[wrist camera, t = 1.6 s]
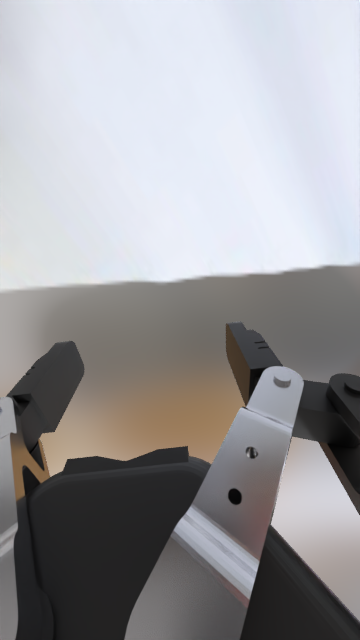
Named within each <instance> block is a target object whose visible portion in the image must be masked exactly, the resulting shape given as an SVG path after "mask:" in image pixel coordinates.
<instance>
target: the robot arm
mask: <svg viewBox="0 0 360 640" xmlns="http://www.w3.org/2000/svg"><path fill="white" fill-rule="evenodd" d="M226 352H227V358H228V361H229V364H230V366H231V369H232V371H233V374H234V377H235V379H236V382H237V385H238V387H239V390H240V393H241V395H242V398H243V400H244V403H245V406H246V408H245V407H241V409H240V410H239V411H238V413H237V415H236V417H235V419H234V421H233V423H232V425H231V427H230V430H229V431H228V433H227V435H226V437H225V439H224V441H223V443H222V445H221V447H220V449H219V451H218V453H217V455H216V457H215V459H214V461H213V463H212V464H210V463H208V462H206V461H204V460H202V459H199V458H196V457H191V456H189V453H188V446H185V447H176V448H168V449H158V450H155V451H153V452H150V453H148V454H145V455H142V456H139V457H137V458H134V459H131V460H128V461H120V460H114V459H109V458H104V457H98V456H94V457H85V458H75V459H67V462H66V464H65V467H64V470H63V471H62V472H60V473H58V474H56V475H54V476H52V477H50V474H49V470H48V466H47V461H46V457H45V453H44V449H43V445H42V442H41V440H40V439H39V438H40V436H41V434H42V433H49V432H55V430H56V428H57V426H58V424H59V422H60V420H61V418H62V416H63V414H64V412H65V410H66V408H67V406H68V404H69V402H70V400H71V398H72V397H73V395H74V393H75V391H76V389H77V387H78V385H79V383H80V381H81V379H82V377H83V375H84V364H83V362H82V359H81V357H80V354H79V352H78V350H77V347H76V345H75V343H74V342H73V341H66V342H58V343H55V345H54V346H53V347H52V348H51V349H50V350H49V352H48V353H46V354H45V355H44V356H42V357H41V358H40V359H38V360H37V361H36V362H35V363H34V365H33V366H32V367H31V369H29V370H28V371H27V373H26V375H24V376H23V377H22V378H21V380H20V381H19V382H18V383H17V384H16V385H15V387H14V388H13V389H12V390H11V391H10V393H9V394H8V395H7V396H6V397H1V398H0V640H360V621H359V620H358V619H357V618H356V617H355V616H354V615H353V614H352V613H351V612H350V610H349V609H347V607H346V606H345V605H344V604H343V603H342V602H341V601H340V600H339V598H338V597H337V596H336V595H335V594H334V593H333V592H332V591H331V590H330V589H329V588H328V587H327V586H326V584H325V583H324V582H323V581H322V580H321V579H320V578H319V577H318V576H317V575H316V574H315V573H314V571H313V570H312V569H311V568H310V567H309V566H308V565H307V564H306V563H305V561H304V560H303V559H302V558H301V557H300V556H299V555H298V554H297V553H296V552H295V551H294V549H293V548H292V547H291V546H290V545H289V544H288V543H287V542H286V541H285V540H284V539H283V537H282V536H281V535H280V534H279V533H278V532H277V531H276V530H275V529H274V528H273V527H272V526H271V521H272V517H273V513H274V509H275V504H276V500H277V496H278V492H279V488H280V484H281V479H282V475H283V471H284V467H285V463H286V459H287V455H288V451H289V446H290V442H291V438H292V436H293V437H298V438H303V439H308V440H313V441H318V442H319V444H320V446H321V448H322V449H323V451H324V453H325V455H326V456H327V458H328V460H329V462H330V464H331V465H332V467H333V469H334V471H335V473H336V474H337V476H338V478H339V480H340V481H341V483H342V485H343V486H344V488H345V490H346V492H347V493H348V495H349V497H350V499H351V501H352V503H353V504H354V506H355V508H356V510H357V512H358V513H359V515H360V377H359V376H356V375H351V374H336V375H334V376H332V377H331V378H330V381H329V383H321V382H313V381H306V380H303V379H302V378H301V376H300V375H299V374H298V373H296V372H295V371H293V370H291V369H289V368H286V367H283V365H282V364H281V363H280V361H279V360H278V359H277V357H276V356H275V354H274V353H273V351H272V350H271V349H270V348H269V346H268V344H267V343H266V342H265V340H264V339H263V337H262V336H261V335H260V334H259V333H257V332H256V331H254V330H246V328H245V327H244V325H243V324H242V322H232V323H227V324H226Z"/></svg>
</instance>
